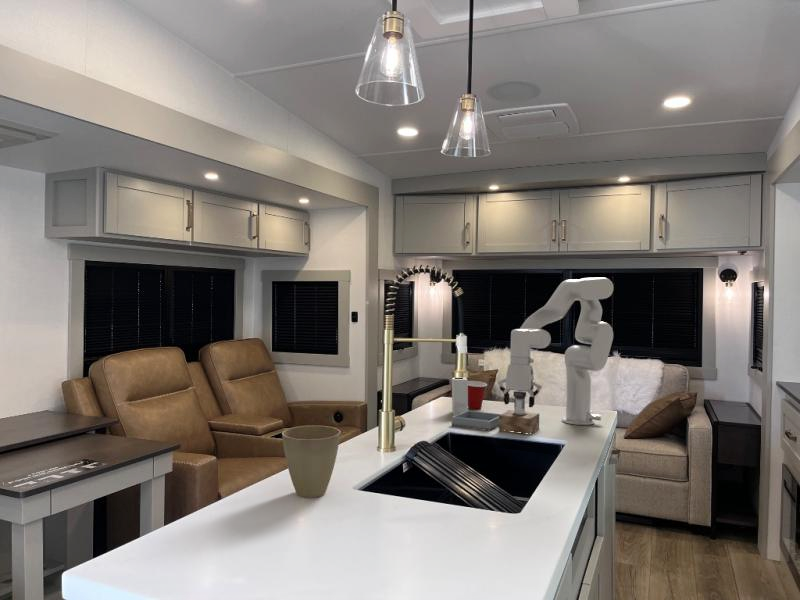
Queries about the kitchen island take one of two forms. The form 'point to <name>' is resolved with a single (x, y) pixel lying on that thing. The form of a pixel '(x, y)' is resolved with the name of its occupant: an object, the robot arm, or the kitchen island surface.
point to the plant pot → (311, 457)
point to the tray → (476, 420)
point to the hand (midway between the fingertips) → (518, 405)
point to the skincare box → (459, 395)
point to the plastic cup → (475, 394)
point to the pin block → (519, 422)
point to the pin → (519, 403)
